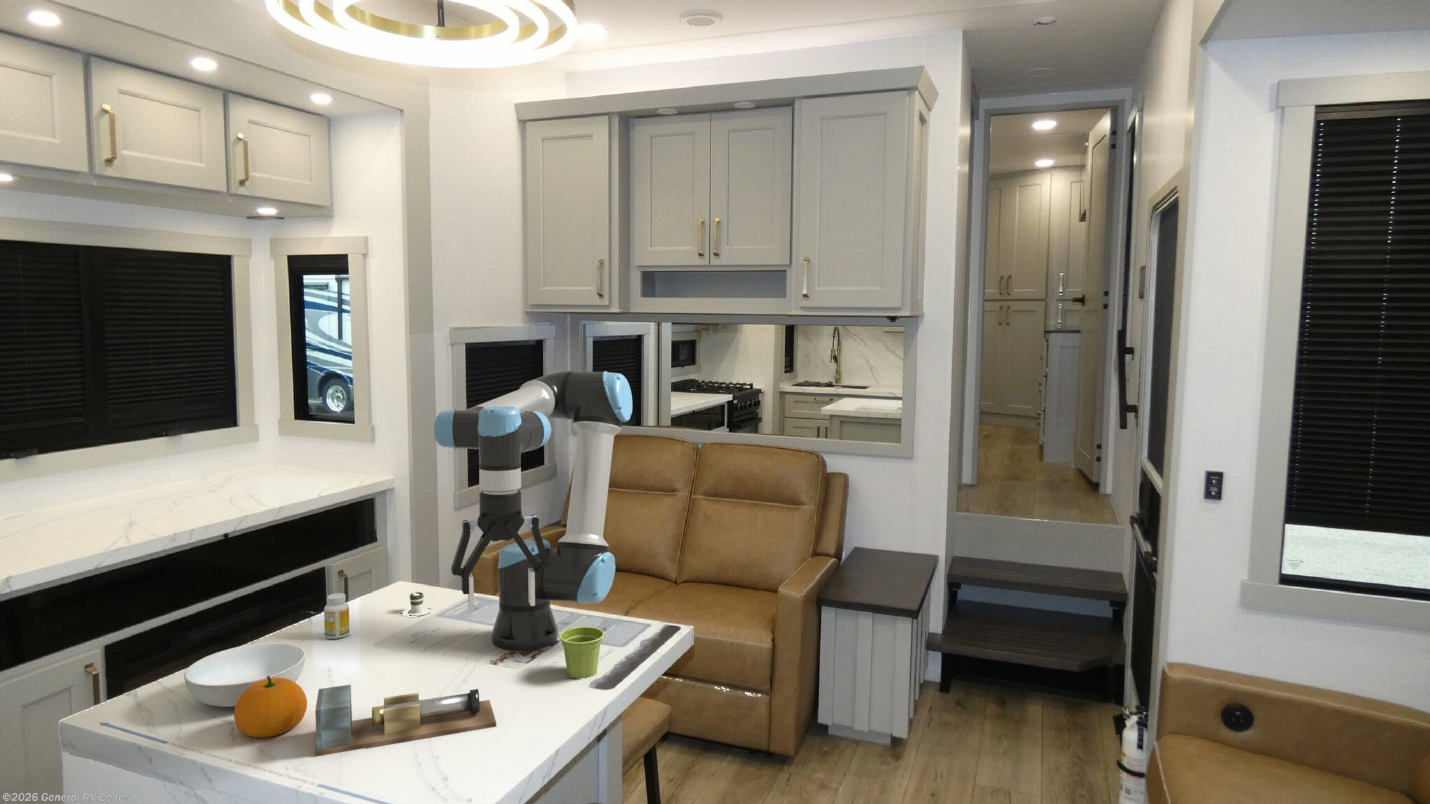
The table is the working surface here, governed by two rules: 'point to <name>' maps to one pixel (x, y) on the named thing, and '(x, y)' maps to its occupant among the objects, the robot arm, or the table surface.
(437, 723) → the base
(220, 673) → the serving bowl
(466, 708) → the tube
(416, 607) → the coffee cup
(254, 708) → the fruit
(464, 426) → the robot arm
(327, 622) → the supplement bottle
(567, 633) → the plant pot
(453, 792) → the table surface
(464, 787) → the table surface
